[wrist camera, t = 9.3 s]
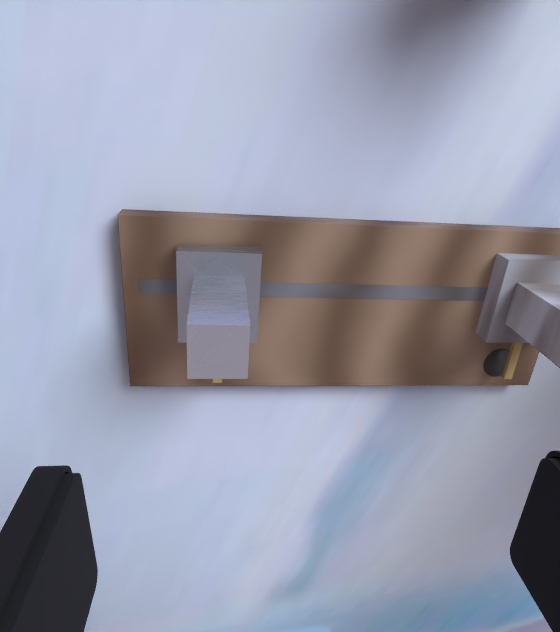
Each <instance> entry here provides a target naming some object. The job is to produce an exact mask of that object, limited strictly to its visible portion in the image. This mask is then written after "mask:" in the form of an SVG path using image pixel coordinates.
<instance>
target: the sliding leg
mask: <svg viewBox="0 0 560 632" xmlns="http://www.w3.org/2000/svg"><path fill="white" fill-rule="evenodd" d="M261 265H262V252H261V248H260V246H231V245H202V244H178V246H177V250H176V270H177V314H178V343H187V379H213V383H222V379H248V362H249V343H257V337H258V319H259V301H260V283H261Z"/></svg>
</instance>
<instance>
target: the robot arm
mask: <svg viewBox="0 0 560 632" xmlns="http://www.w3.org/2000/svg"><path fill="white" fill-rule="evenodd" d="M510 556H511V560H512V563H513V565H514V567H515V569H516V570H517V572H518V574H519V575H520V577H521V579H522V580H523V582H524V584H525V585H526V587H527V589H528V590H529V592H530V594H531V596H532V597H533V599H534V601H535V602H536V604H537V606H538V607H539V609H540V611H541V612H542V614H543V616H544V618H545V619H546V621H547V622H548V624H549V626H550V628H551V629H552V631H553V632H560V451H551V452H549V453H548V454H547V456H546V458H544V459H542V460H541V461H540V463H539V466H538V469H537V472H536V474H535V477H534V480H533V483H532V486H531V489H530V492H529V494H528V497H527V500H526V503H525V506H524V509H523V512H522V514H521V517H520V520H519V523H518V526H517V529H516V532H515V534H514V537H513V540H512V543H511V546H510ZM96 583H97V563H96V557H95V551H94V546H93V540H92V534H91V529H90V523H89V517H88V512H87V506H86V500H85V495H84V489H83V484H82V478H81V475H80V473H72V471H71V468H70V467H69V466H38V467H36V468H35V469H34V470H33V472H32V473H31V475H30V477H29V479H28V481H27V483H26V485H25V486H24V488H23V490H22V492H21V494H20V496H19V498H18V500H17V502H16V504H15V505H14V507H13V509H12V511H11V513H10V515H9V517H8V519H7V521H6V523H5V524H4V526H3V528H2V530H1V532H0V632H84V628H85V625H86V621H87V617H88V614H89V610H90V607H91V603H92V599H93V596H94V592H95V588H96Z"/></svg>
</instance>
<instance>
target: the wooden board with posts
mask: <svg viewBox="0 0 560 632" xmlns="http://www.w3.org/2000/svg"><path fill="white" fill-rule="evenodd" d="M118 224H119V238H120V252H121V265H122V279H123V293H124V306H125V320H126V334H127V347H128V361H129V375H130V386H361V385H528V383H529V381H530V378H531V375H532V372H533V369H534V366H535V363H536V360H537V357H538V354H539V351H540V352H541V353H542V354H543V355H544V356H546V357H547V358H548V359H549V360H551V361H552V362H553V363H554V364H555V365H557V366H558V367H559V368H560V228H539V227H516V226H493V225H470V224H447V223H424V222H401V221H378V220H355V219H332V218H309V217H286V216H262V215H239V214H216V213H193V212H170V211H147V210H124V209H122V211H121V212H120V213H119V214H118ZM178 244H202V245H231V246H260V248H261V252H262V265H261V283H260V301H259V319H258V337H257V343H249V362H248V379H222V383H213V379H187V343H178V314H177V270H176V250H177V246H178Z"/></svg>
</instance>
